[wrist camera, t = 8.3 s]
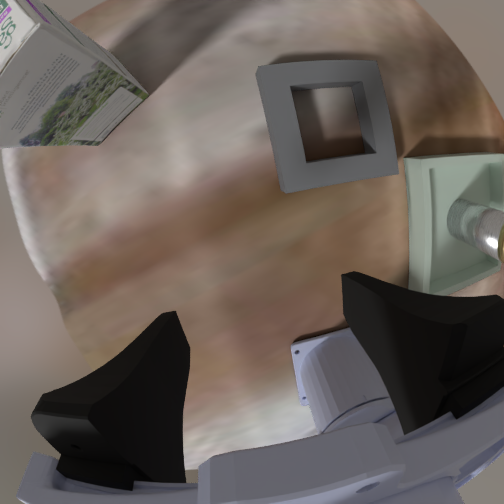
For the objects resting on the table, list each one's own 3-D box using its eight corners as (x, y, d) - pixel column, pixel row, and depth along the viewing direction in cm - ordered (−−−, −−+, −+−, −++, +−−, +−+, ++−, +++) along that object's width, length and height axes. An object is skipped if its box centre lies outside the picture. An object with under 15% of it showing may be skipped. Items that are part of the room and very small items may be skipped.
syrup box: (112, 52, 16) (1, -27, 2) (153, 97, 17) (36, 18, 4) (63, 103, 16) (-73, 83, 3) (99, 149, 18) (-52, 161, 4)
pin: (471, 232, 22) (525, 259, 15) (447, 242, 22) (503, 273, 15) (471, 195, 21) (529, 214, 13) (445, 202, 21) (507, 224, 13)
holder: (386, 172, 20) (399, 174, 18) (280, 190, 20) (286, 193, 18) (365, 67, 17) (376, 60, 15) (255, 74, 17) (258, 66, 15)
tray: (486, 262, 24) (500, 270, 22) (408, 293, 24) (421, 305, 22) (488, 152, 20) (504, 154, 18) (403, 158, 20) (420, 159, 18)
